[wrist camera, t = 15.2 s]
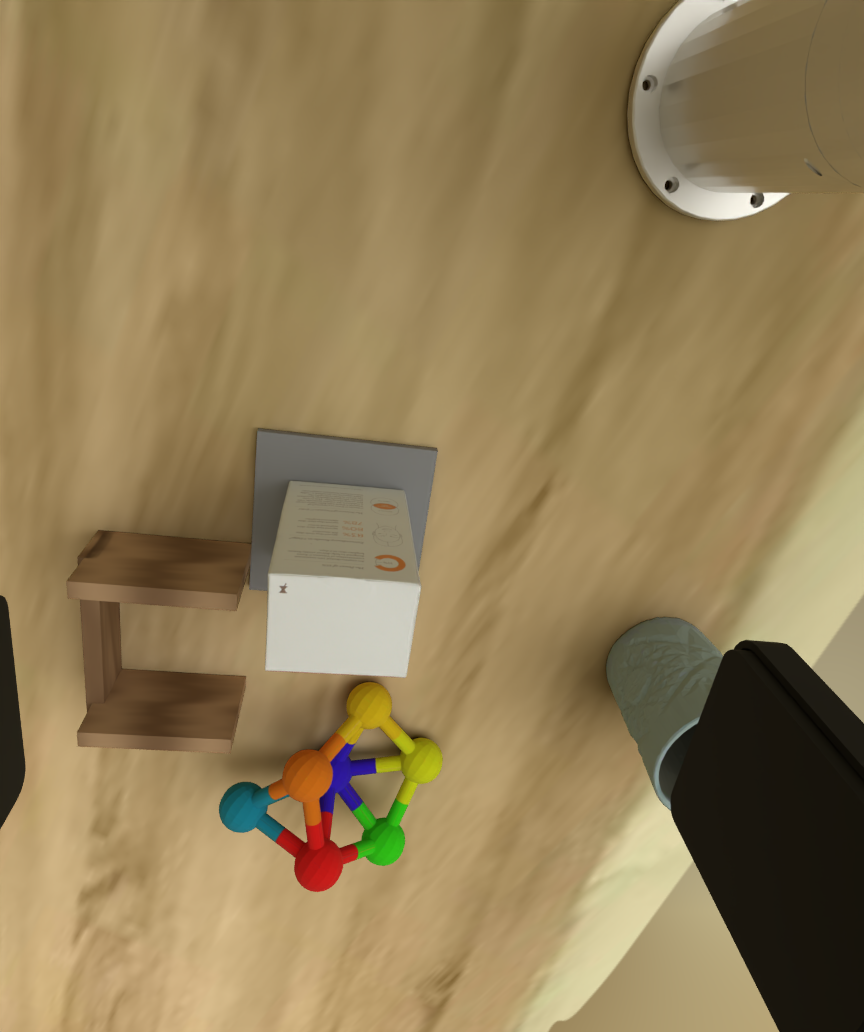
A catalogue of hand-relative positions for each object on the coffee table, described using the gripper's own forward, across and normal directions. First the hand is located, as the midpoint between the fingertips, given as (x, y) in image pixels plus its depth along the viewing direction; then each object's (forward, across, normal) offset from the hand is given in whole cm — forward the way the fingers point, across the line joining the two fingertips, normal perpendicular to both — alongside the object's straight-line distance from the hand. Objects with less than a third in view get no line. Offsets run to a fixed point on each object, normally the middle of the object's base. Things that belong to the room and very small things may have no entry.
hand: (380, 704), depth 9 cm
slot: (+38, +11, +24) cm, 47 cm away
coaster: (+38, 0, +15) cm, 41 cm away
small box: (+38, 0, +15) cm, 41 cm away
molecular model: (+39, -3, +36) cm, 53 cm away
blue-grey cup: (+38, -27, +25) cm, 53 cm away
